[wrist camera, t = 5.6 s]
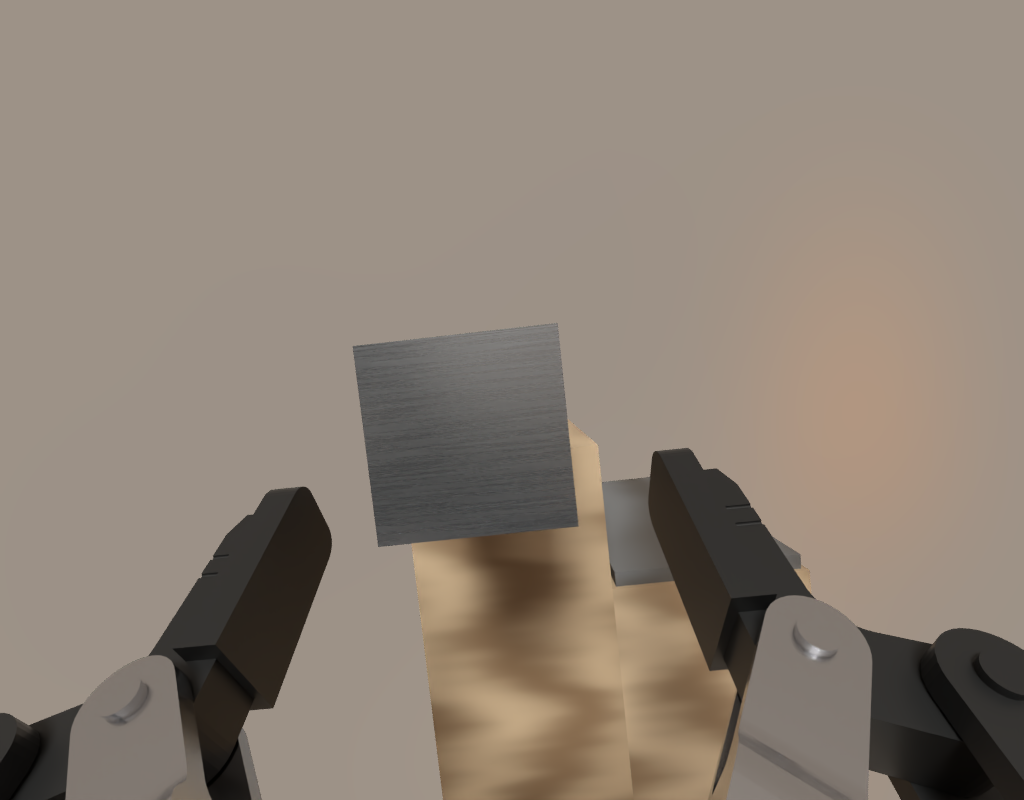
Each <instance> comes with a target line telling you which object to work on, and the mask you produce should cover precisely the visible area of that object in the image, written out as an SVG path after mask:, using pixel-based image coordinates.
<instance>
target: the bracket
mask: <svg viewBox="0 0 1024 800" xmlns="http://www.w3.org/2000/svg"><path fill="white" fill-rule="evenodd" d="M568 429H569V439H570V448H571V458H572V467H573V477H574V487H575V496H576V506H577V515H578V525H579V526H578V527H569V528H559V529H549V530H539V531H529V532H519V533H510V534H500V535H490V536H480V537H470V538H461V539H451V540H441V541H431V542H421V543H412V551H413V560H414V568H415V576H416V584H417V592H418V600H419V608H420V616H421V624H422V632H423V641H424V649H425V656H426V665H427V673H428V681H429V689H430V697H431V705H432V713H433V721H434V730H435V738H436V746H437V754H438V762H439V770H440V778H441V786H442V794H443V800H708V797H709V794H710V790H711V786H712V782H713V778H714V774H715V770H716V766H717V762H718V758H719V754H720V750H721V746H722V742H723V739H724V735H725V731H726V727H727V723H728V719H729V715H730V711H731V707H732V703H733V699H734V695H735V692H736V686H735V684H734V682H733V679H732V677H731V675H730V672H729V670H728V669H727V670H716V671H709V668H708V666H707V663H706V661H705V658H704V656H703V653H702V650H701V648H700V645H699V643H698V640H697V638H696V635H695V633H694V630H693V627H692V625H691V622H690V620H689V617H688V615H687V612H686V610H685V607H684V604H683V602H682V599H681V597H680V594H679V592H678V589H677V587H676V584H675V581H674V579H673V576H672V574H671V571H670V569H669V566H668V564H667V561H666V559H665V556H664V553H663V551H662V548H661V546H660V543H659V541H658V538H657V536H656V533H655V530H654V528H653V525H652V522H651V518H650V514H649V506H648V495H649V485H650V477H647V478H638V479H629V480H618V481H609V482H602V481H601V471H600V461H599V452H598V445H597V444H596V443H595V442H594V441H593V440H591V439H590V438H589V437H588V436H587V435H586V434H584V433H583V432H582V431H581V430H580V429H579V428H577V427H576V426H575V425H574V424H573V423H572V422H570V421H569V420H568ZM773 539H774V540H775V541H776V543H777V544H778V546H779V547H780V549H781V550H782V552H783V553H784V555H785V556H786V558H787V559H788V561H789V562H790V564H791V565H792V567H793V568H794V570H795V571H796V573H797V574H798V576H799V577H800V579H801V580H802V582H803V583H804V585H805V586H806V588H807V589H808V591H809V592H810V593H811V583H810V571H809V570H808V569H807V568H805V567H804V566H802V565H801V558H800V554H799V553H797V552H796V551H794V550H793V549H791V548H789V547H788V546H786V545H785V544H783V543H781V542H780V541H778V540H777V539H775V538H774V537H773Z"/></svg>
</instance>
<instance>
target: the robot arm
mask: <svg viewBox="0 0 1024 800" xmlns="http://www.w3.org/2000/svg"><path fill="white" fill-rule="evenodd" d="M648 506H649V514H650V518H651V522H652V525H653V528H654V530H655V533H656V536H657V538H658V541H659V543H660V546H661V548H662V551H663V553H664V556H665V559H666V561H667V564H668V566H669V569H670V571H671V574H672V576H673V579H674V581H675V584H676V587H677V589H678V592H679V594H680V597H681V599H682V602H683V604H684V607H685V610H686V612H687V615H688V617H689V620H690V622H691V625H692V627H693V630H694V633H695V635H696V638H697V640H698V643H699V645H700V648H701V650H702V653H703V656H704V658H705V661H706V663H707V666H708V668H709V671H716V670H727V669H728V670H729V672H730V675H731V677H732V679H733V682H734V684H735V686H736V692H735V695H734V699H733V703H732V707H731V711H730V715H729V719H728V723H727V727H726V731H725V735H724V739H723V742H722V746H721V750H720V754H719V758H718V762H717V766H716V770H715V774H714V778H713V782H712V786H711V790H710V794H709V797H708V800H868V775H869V774H868V773H869V770H871V771H875V772H878V773H882V774H885V775H888V777H889V779H890V780H891V782H892V784H893V786H894V788H895V790H896V791H897V793H898V795H899V797H900V799H901V800H1024V650H1022V649H1021V648H1019V647H1018V646H1016V645H1014V644H1012V643H1010V642H1008V641H1006V640H1004V639H1002V638H1000V637H997V636H995V635H992V634H989V633H986V632H982V631H979V630H973V629H963V628H958V629H951V630H948V631H945V632H944V633H942V634H941V635H940V636H939V637H938V638H937V639H936V641H935V642H934V643H933V644H929V643H924V642H919V641H914V640H909V639H904V638H900V637H895V636H890V635H885V634H881V633H876V632H872V631H868V630H865V629H862V628H859V627H857V626H855V624H854V623H853V622H851V621H850V620H849V619H848V618H847V617H846V616H845V615H844V614H842V613H841V612H840V611H838V610H836V609H835V608H833V607H832V606H830V605H828V604H826V603H824V602H822V601H819V600H816V599H815V598H814V597H813V596H812V595H811V593H810V592H809V591H808V589H807V588H806V586H805V585H804V583H803V582H802V580H801V579H800V577H799V576H798V574H797V573H796V571H795V570H794V568H793V567H792V565H791V564H790V562H789V561H788V559H787V558H786V556H785V555H784V553H783V552H782V550H781V549H780V547H779V546H778V544H777V543H776V541H775V540H774V539H773V537H772V536H771V534H770V533H769V531H768V530H767V528H766V527H765V525H762V523H761V519H760V518H759V516H758V515H757V513H756V512H755V510H754V509H753V508H751V506H750V503H749V501H748V500H747V498H746V497H745V495H744V494H743V492H742V491H741V489H740V488H739V486H738V485H737V484H736V483H735V482H734V481H732V480H731V479H730V478H728V477H727V476H726V475H724V474H723V473H722V472H721V471H719V470H718V469H707V470H703V469H702V467H701V465H700V464H699V462H698V460H697V458H696V457H695V455H694V453H693V452H692V451H691V450H690V449H689V448H683V449H673V450H663V451H655V452H654V453H653V456H652V465H651V474H650V485H649V495H648ZM331 547H332V539H331V533H330V530H329V527H328V525H327V523H326V521H325V519H324V517H323V515H322V513H321V512H320V509H319V507H318V505H317V503H316V501H315V499H314V497H313V495H312V493H311V491H310V490H309V489H308V488H306V487H295V488H285V489H275V490H270V491H269V492H268V493H267V494H266V495H265V496H264V498H263V499H262V501H261V503H260V504H259V506H258V508H257V510H256V511H255V513H254V514H253V515H247V516H246V517H245V518H244V519H243V520H242V521H241V522H240V523H239V524H238V525H236V526H235V527H234V528H233V529H232V530H231V531H230V532H229V533H228V534H227V535H226V536H225V538H224V540H223V541H222V543H221V544H220V546H219V547H218V549H217V550H216V552H215V554H214V555H213V557H214V558H213V560H210V561H209V563H208V565H207V566H206V568H205V569H204V571H203V572H202V577H201V578H199V579H198V580H197V582H196V583H195V585H194V586H193V588H192V590H191V591H190V593H189V594H188V596H187V597H186V599H185V601H184V602H183V604H182V605H181V607H180V608H179V610H178V612H177V613H176V615H175V616H174V618H173V619H172V621H171V622H170V624H169V626H168V627H167V629H166V630H165V632H164V633H163V635H162V636H161V638H160V640H159V641H158V643H157V644H156V646H155V647H154V649H153V650H152V652H151V653H150V654H149V656H147V657H143V658H140V659H138V660H135V661H133V662H131V663H129V664H127V665H125V666H124V667H122V668H121V669H119V670H117V671H116V672H115V673H113V674H112V675H111V676H110V677H108V678H107V679H106V680H105V681H104V682H102V683H101V684H100V685H99V686H98V687H97V688H96V689H95V690H94V691H93V692H92V693H91V695H90V696H89V697H88V698H87V700H86V701H85V702H84V704H81V705H79V706H76V707H74V708H71V709H69V710H66V711H64V712H61V713H59V714H56V715H54V716H51V717H49V718H46V719H44V720H41V721H39V722H36V723H33V724H31V725H27V724H25V723H23V722H22V721H20V720H18V719H17V718H15V717H13V716H12V715H10V714H6V713H0V800H262V798H261V794H260V790H259V786H258V781H257V777H256V773H255V769H254V764H253V760H252V756H251V752H250V748H249V743H248V739H247V736H246V733H245V731H244V730H243V728H242V727H243V725H244V722H245V720H246V717H247V715H248V712H249V710H258V709H269V708H273V707H274V705H275V702H276V699H277V697H278V694H279V691H280V689H281V686H282V683H283V680H284V678H285V675H286V672H287V670H288V667H289V664H290V662H291V659H292V656H293V654H294V651H295V648H296V646H297V643H298V640H299V638H300V635H301V632H302V629H303V627H304V624H305V622H306V619H307V616H308V613H309V611H310V608H311V605H312V602H313V600H314V597H315V595H316V592H317V589H318V586H319V584H320V581H321V578H322V576H323V573H324V571H325V568H326V565H327V562H328V560H329V557H330V553H331Z"/></svg>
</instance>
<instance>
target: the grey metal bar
mask: <svg viewBox="0 0 1024 800" xmlns="http://www.w3.org/2000/svg"><path fill="white" fill-rule="evenodd" d="M353 352H354V360H355V367H356V375H357V384H358V391H359V399H360V407H361V415H362V423H363V431H364V438H365V446H366V454H367V461H368V470H369V477H370V485H371V493H372V501H373V509H374V517H375V525H376V532H377V540H378V547H381V546H392V545H402V544H411V543H421V542H431V541H441V540H451V539H461V538H470V537H480V536H490V535H500V534H510V533H519V532H529V531H539V530H549V529H559V528H569V527H578V526H579V525H578V515H577V506H576V496H575V487H574V477H573V467H572V458H571V448H570V439H569V429H568V419H567V410H566V400H565V391H564V381H563V372H562V362H561V352H560V343H559V333H558V324H557V323H554V324H545V325H537V326H528V327H519V328H511V329H502V330H492V331H483V332H475V333H466V334H457V335H448V336H439V337H431V338H421V339H413V340H404V341H395V342H387V343H377V344H370V345H360V346H353Z"/></svg>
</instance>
